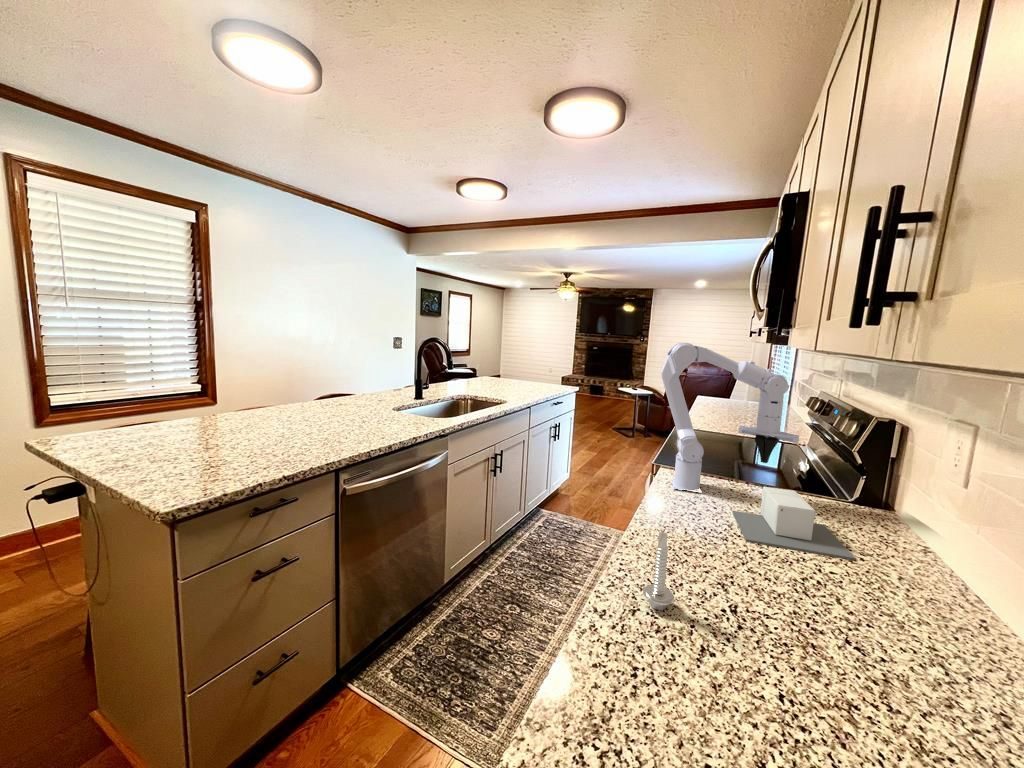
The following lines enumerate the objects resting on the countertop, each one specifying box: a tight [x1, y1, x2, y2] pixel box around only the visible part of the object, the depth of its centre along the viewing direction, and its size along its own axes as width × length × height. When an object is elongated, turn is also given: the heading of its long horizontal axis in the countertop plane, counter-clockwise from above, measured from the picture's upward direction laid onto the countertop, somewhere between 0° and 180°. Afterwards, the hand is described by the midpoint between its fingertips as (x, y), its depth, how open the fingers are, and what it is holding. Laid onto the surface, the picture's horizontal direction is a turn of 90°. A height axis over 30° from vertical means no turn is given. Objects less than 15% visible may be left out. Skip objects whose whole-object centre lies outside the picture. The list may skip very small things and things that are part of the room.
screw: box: [642, 531, 675, 611], centre depth 65 cm, size 13×5×5 cm
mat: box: [731, 510, 856, 561], centre depth 92 cm, size 16×20×1 cm
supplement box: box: [759, 486, 817, 541], centre depth 95 cm, size 7×7×13 cm
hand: (764, 462), depth 113 cm, fingers closed
